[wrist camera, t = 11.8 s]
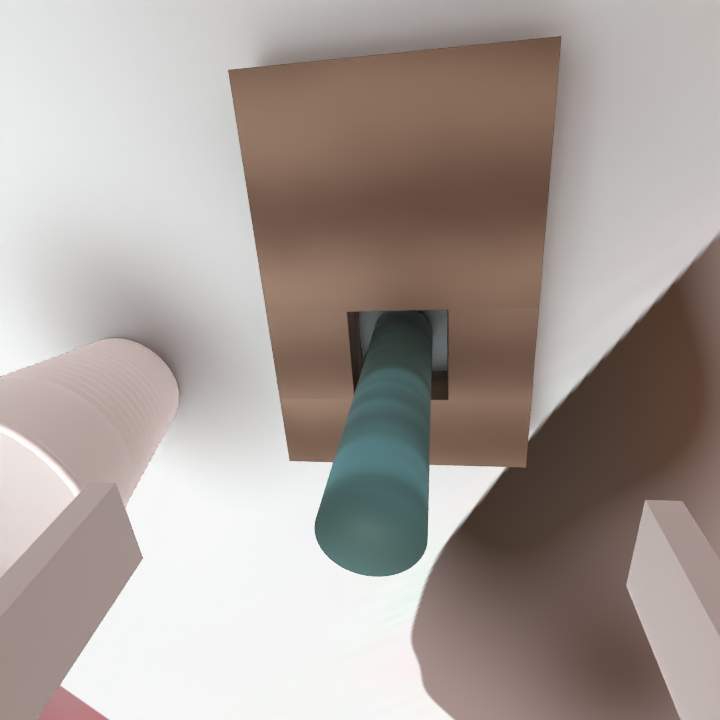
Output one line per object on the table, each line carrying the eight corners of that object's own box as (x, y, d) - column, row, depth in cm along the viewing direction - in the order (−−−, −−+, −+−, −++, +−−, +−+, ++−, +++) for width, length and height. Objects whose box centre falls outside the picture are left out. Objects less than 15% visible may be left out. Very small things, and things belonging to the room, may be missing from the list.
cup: (233, 348, 28) (119, 473, 18) (191, 476, 32) (81, 634, 22) (63, 274, 27) (-152, 360, 17) (44, 414, 31) (-136, 547, 22)
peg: (372, 307, 25) (308, 487, 13) (432, 306, 25) (426, 492, 12) (375, 361, 27) (320, 572, 14) (432, 361, 26) (427, 579, 14)
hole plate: (254, 76, 22) (228, 70, 19) (544, 48, 20) (561, 36, 17) (303, 429, 29) (289, 460, 26) (517, 433, 27) (525, 467, 25)
